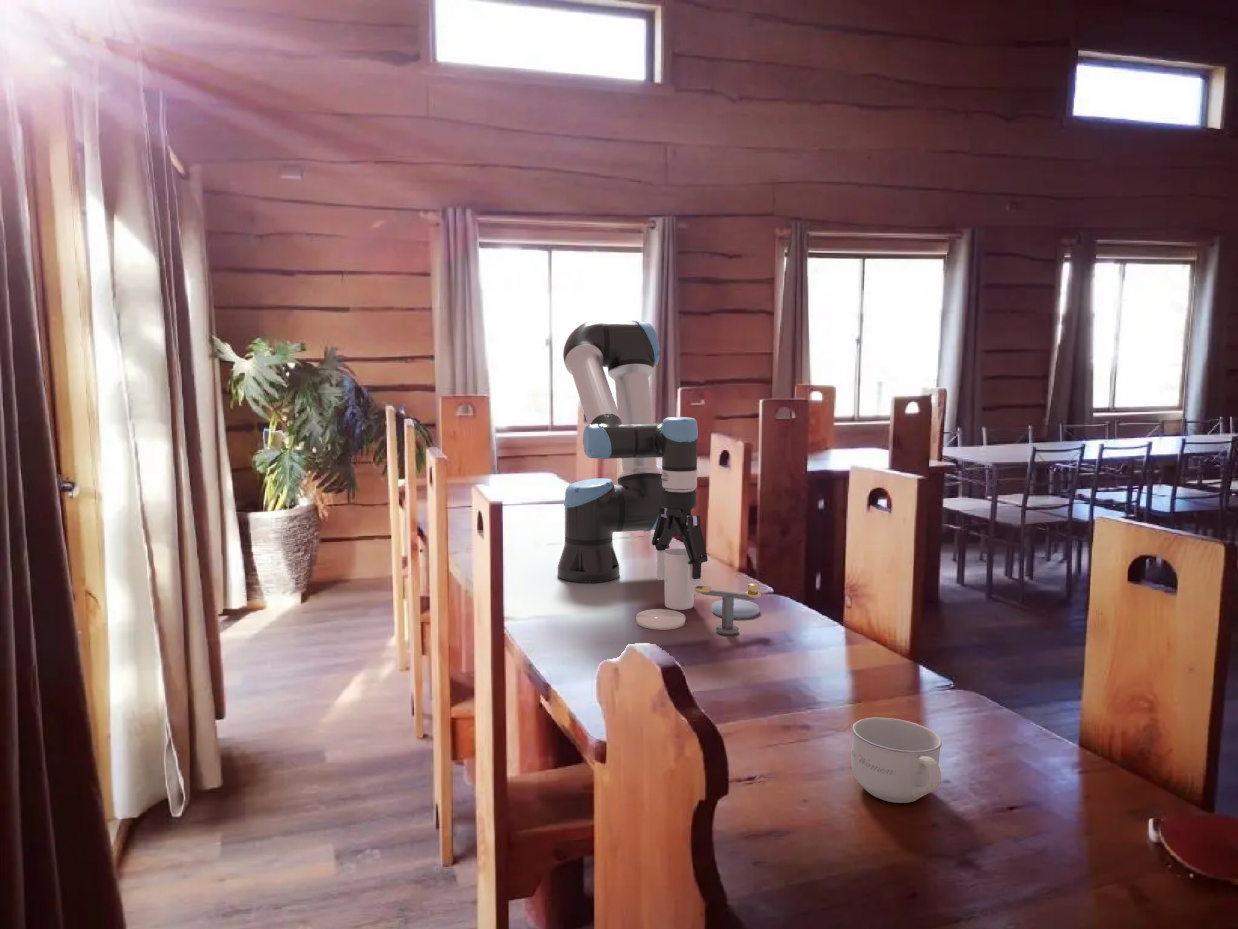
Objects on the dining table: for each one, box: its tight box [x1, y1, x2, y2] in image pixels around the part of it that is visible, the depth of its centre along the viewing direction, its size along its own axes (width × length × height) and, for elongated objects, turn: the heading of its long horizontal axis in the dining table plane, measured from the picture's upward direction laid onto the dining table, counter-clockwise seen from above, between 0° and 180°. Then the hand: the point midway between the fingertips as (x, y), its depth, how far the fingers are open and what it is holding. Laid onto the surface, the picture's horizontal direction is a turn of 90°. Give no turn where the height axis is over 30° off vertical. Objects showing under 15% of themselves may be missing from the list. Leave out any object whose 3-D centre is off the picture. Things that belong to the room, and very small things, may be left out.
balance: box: [695, 582, 762, 637], centre depth 175 cm, size 4×15×10 cm, turn 116°
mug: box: [663, 547, 695, 611], centre depth 194 cm, size 10×7×12 cm, turn 10°
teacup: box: [850, 716, 943, 804], centre depth 111 cm, size 14×11×8 cm
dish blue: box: [711, 598, 760, 619], centre depth 189 cm, size 10×10×1 cm
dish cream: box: [635, 608, 686, 631], centre depth 181 cm, size 10×10×1 cm
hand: (678, 586), depth 193 cm, fingers open, 13 cm apart
